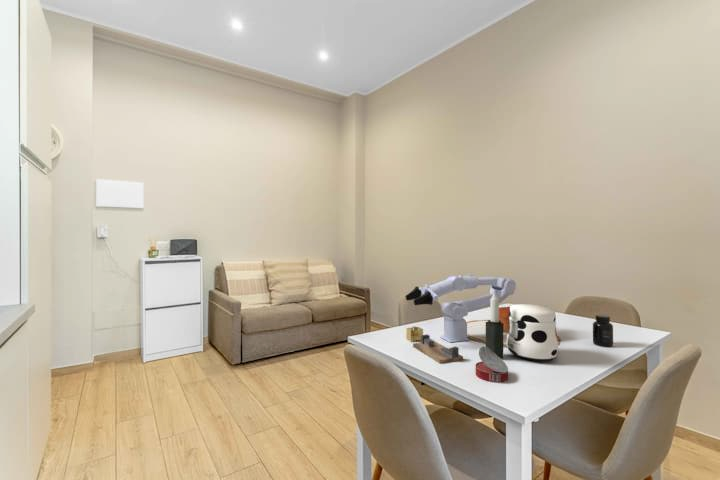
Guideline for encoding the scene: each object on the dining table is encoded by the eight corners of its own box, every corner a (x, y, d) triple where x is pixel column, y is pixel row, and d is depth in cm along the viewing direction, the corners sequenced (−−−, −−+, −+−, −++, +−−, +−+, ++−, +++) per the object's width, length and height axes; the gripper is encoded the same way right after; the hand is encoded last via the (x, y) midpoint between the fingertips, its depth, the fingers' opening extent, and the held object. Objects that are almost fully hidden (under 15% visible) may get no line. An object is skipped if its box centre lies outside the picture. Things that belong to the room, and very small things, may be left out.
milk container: (563, 355, 125) (564, 308, 124) (550, 368, 112) (550, 316, 112) (516, 344, 137) (516, 301, 136) (499, 355, 124) (499, 308, 124)
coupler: (418, 337, 146) (418, 325, 146) (423, 340, 143) (423, 327, 142) (406, 339, 144) (406, 326, 144) (410, 342, 140) (410, 329, 140)
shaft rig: (434, 343, 138) (434, 333, 138) (463, 359, 120) (463, 347, 120) (413, 346, 135) (413, 335, 135) (439, 363, 117) (439, 351, 117)
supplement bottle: (614, 344, 137) (614, 315, 137) (612, 348, 132) (612, 319, 132) (594, 341, 142) (594, 313, 141) (591, 344, 137) (591, 316, 136)
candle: (495, 360, 120) (495, 291, 120) (484, 355, 124) (484, 289, 124) (504, 357, 122) (505, 290, 122) (493, 353, 127) (493, 288, 126)
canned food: (493, 384, 111) (506, 357, 112) (508, 395, 101) (521, 365, 102) (464, 368, 111) (476, 341, 112) (475, 378, 101) (489, 348, 102)
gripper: (427, 278, 148) (400, 287, 144) (445, 284, 134) (416, 295, 131) (430, 292, 149) (404, 302, 146) (448, 300, 135) (419, 312, 132)
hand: (410, 300), depth 138 cm, fingers open, 7 cm apart
